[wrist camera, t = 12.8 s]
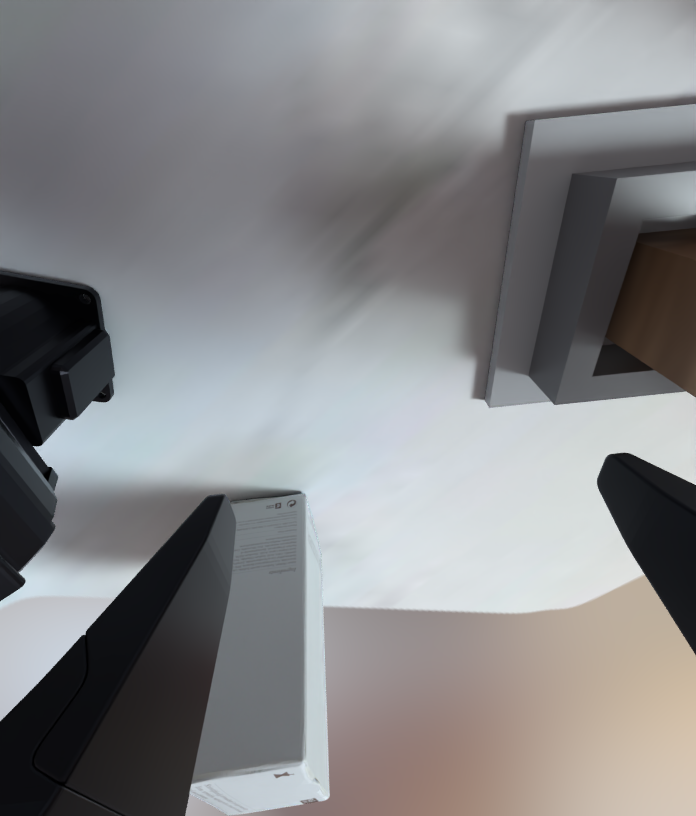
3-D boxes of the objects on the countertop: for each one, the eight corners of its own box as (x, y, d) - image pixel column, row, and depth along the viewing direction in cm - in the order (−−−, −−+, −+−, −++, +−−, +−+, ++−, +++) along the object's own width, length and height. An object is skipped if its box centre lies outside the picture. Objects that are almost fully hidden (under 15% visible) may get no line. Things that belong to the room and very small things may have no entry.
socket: (484, 400, 24) (509, 438, 21) (525, 121, 16) (576, 114, 13) (706, 377, 24) (764, 412, 21) (859, 87, 16) (991, 73, 13)
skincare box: (228, 499, 27) (154, 784, 15) (311, 489, 27) (305, 767, 15) (256, 567, 32) (218, 825, 20) (327, 558, 32) (332, 812, 20)
